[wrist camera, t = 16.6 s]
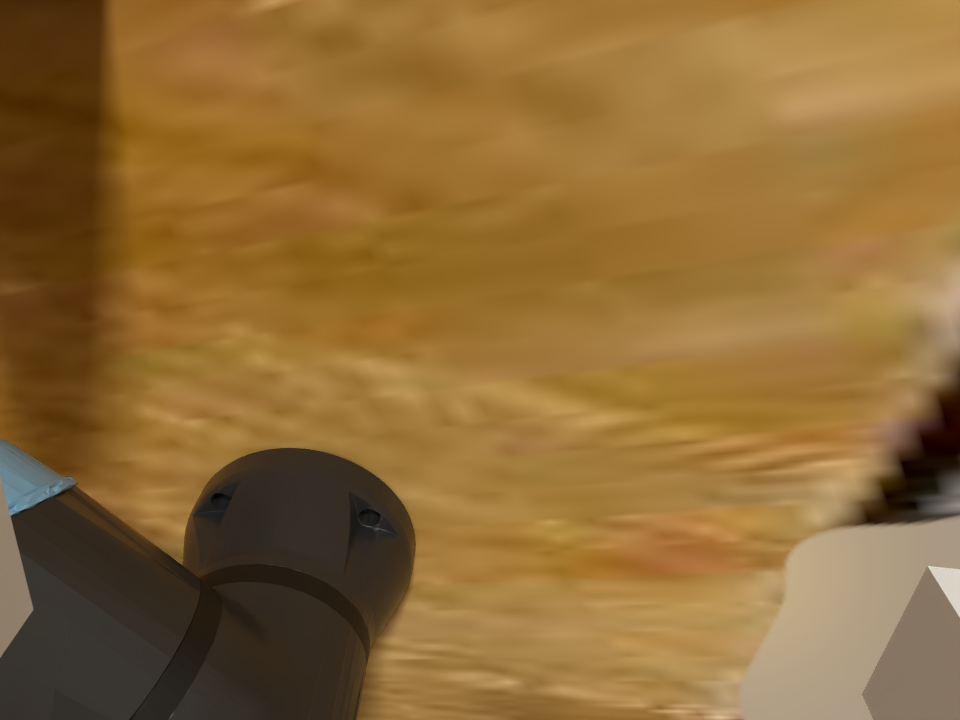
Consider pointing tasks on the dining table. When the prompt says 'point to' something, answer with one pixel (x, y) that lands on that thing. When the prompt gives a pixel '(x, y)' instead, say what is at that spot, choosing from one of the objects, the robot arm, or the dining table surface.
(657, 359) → the dining table surface
